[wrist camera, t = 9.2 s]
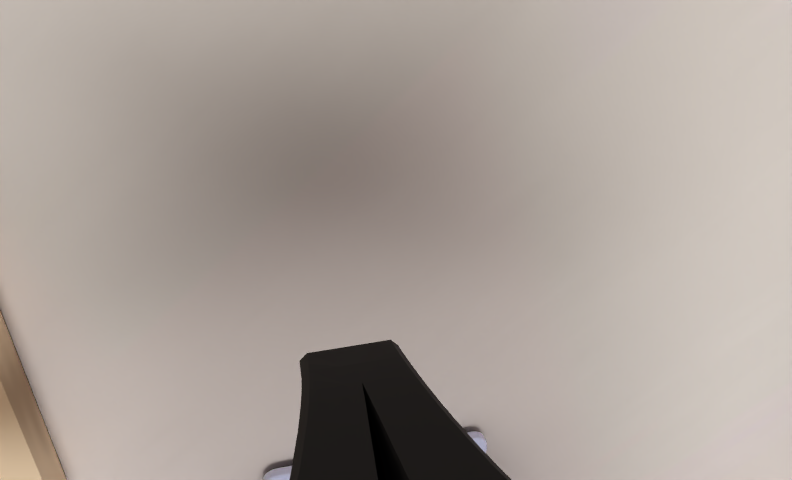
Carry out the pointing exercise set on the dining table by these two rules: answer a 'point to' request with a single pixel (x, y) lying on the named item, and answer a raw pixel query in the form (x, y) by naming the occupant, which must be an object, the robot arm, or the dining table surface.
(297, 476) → the robot arm
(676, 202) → the dining table surface
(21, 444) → the oak board
